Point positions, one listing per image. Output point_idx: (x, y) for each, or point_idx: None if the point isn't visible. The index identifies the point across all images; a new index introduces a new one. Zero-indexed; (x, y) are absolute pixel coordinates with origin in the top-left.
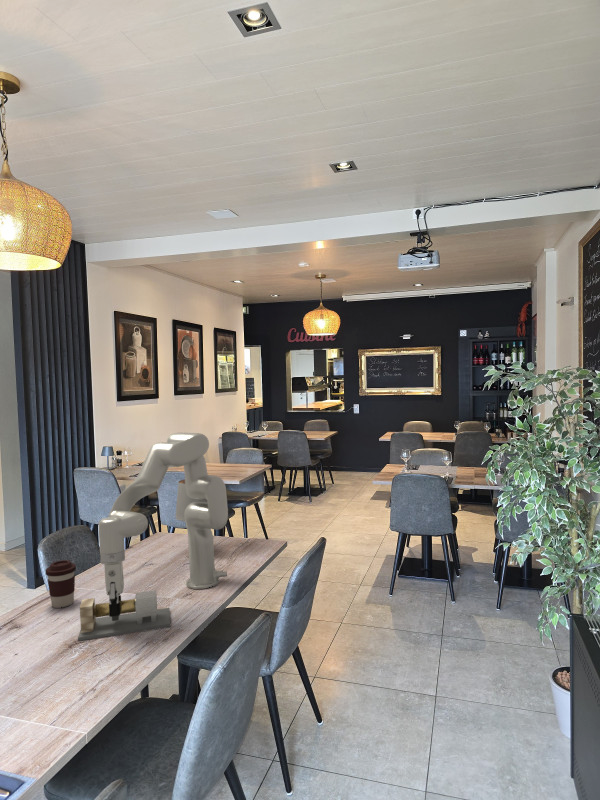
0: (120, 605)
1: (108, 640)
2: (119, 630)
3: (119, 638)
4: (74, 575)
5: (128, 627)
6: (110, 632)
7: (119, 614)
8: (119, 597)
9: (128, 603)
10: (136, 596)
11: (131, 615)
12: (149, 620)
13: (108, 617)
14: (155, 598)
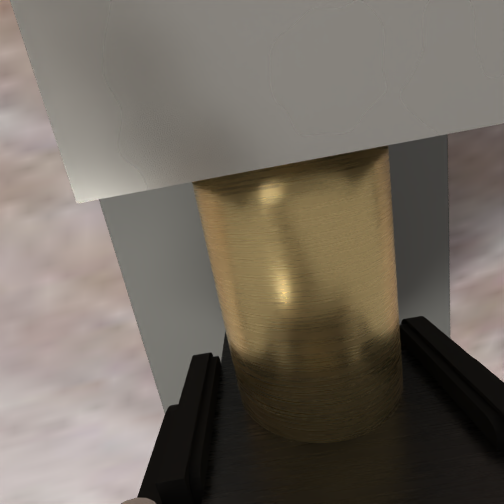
0: (396, 372)
1: (497, 306)
2: (431, 264)
3: (494, 240)
4: None
5: (396, 205)
6: (443, 320)
7: (424, 322)
8: (204, 470)
9: (384, 268)
10: (335, 125)
11: (161, 235)
12: None
13: (178, 396)
14: None
